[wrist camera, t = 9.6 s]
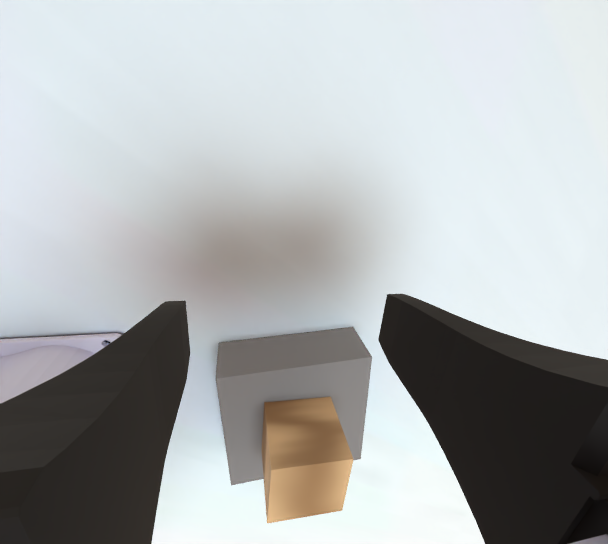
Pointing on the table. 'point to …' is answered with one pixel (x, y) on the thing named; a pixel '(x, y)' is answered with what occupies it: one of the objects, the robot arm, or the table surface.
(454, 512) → the table surface
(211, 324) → the table surface
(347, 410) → the gray block
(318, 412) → the oak cube
